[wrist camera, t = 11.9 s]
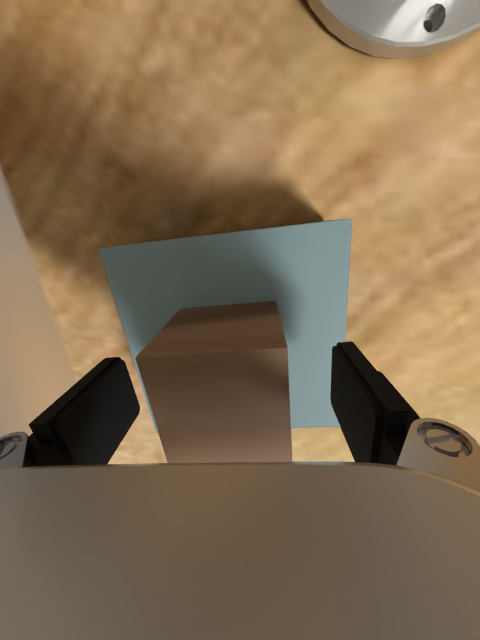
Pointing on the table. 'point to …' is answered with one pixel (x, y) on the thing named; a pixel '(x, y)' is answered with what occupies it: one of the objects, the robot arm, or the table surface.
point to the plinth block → (246, 294)
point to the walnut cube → (220, 384)
